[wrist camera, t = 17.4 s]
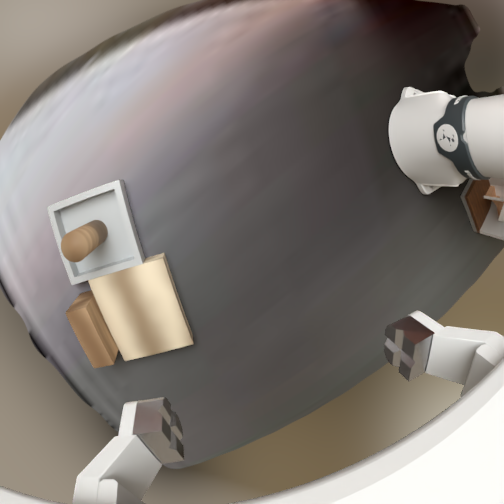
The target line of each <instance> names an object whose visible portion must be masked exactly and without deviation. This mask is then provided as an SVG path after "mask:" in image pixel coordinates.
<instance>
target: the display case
mask: <svg viewBox="0 0 504 504" xmlns="http://www.w3.org/2000/svg"><path fill="white" fill-rule="evenodd" d="M460 197H461V200H462V202H463V204H464V207H465V209H466V212H467V215H468V217H469V220H470V223H471V226H472V228H473V231H474V232H477V233H480V234H484V235H487V236H491V237H494V238H498V239H501V240H504V179H499V178H490V179H488V180H474V179H469V181H468V183H467V185H466V186H465V188H464V190H463V192H462V194H461V196H460Z"/></svg>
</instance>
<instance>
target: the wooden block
mask: <svg viewBox="0 0 504 504" xmlns="http://www.w3.org/2000/svg"><path fill="white" fill-rule="evenodd" d="M66 315H67V318H68V320H69V322H70V324H71V326H72V328H73V330H74V332H75V334H76V336H77V338H78V340H79V342H80V344H81V346H82V347H83V349H84V351H85V353H86V355H87V357H88V358H89V360H90V362H91V364H92V365H93V367H94V368H99V367H104V366H109V365H114V363H115V359H116V356H117V352H118V347H117V345H116V343H115V341H114V339H113V337H112V335H111V333H110V330H109V328H108V326H107V324H106V322H105V320H104V318H103V315H102V313H101V311H100V309H99V306H98V304H97V302H96V299H95V297H94V294H93V292H92V290H91V291H87V292H84V293H81V294H80V295H79V296H78V297H77V298H76V300H75V301H74V302H73V304H72V305H71V306H70V307H69V309H68V310H67V311H66Z"/></svg>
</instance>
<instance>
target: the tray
mask: <svg viewBox="0 0 504 504" xmlns="http://www.w3.org/2000/svg"><path fill="white" fill-rule="evenodd" d="M47 210H48V214H49V217H50V221H51V225H52V228H53V232H54V235H55V238H56V242H57V245H58V248H59V251H60V254H61V257H62V260H63V263H64V265H65V268H66V271H67V274H68V276H69V279H70V282H71V284H72V285H74V284H77V283H81V282H84V281H87V280H90V279H94V278H97V277H100V276H104V275H107V274H110V273H114V272H117V271H120V270H124V269H127V268H130V267H134V266H137V265H141V264H143V262H144V260H145V256H144V253H143V250H142V246H141V243H140V240H139V236H138V233H137V230H136V226H135V223H134V219H133V216H132V212H131V208H130V205H129V201H128V197H127V193H126V189H125V185H124V181H123V180H117V181H114V182H111V183H108V184H105V185H102V186H99V187H97V188H94V189H91V190H88V191H86V192H83V193H80V194H78V195H75V196H73V197H70V198H68V199H65V200H63V201H60V202H58V203H56V204H53V205H51V206H48V207H47ZM93 220H100V221H102V222H103V223H104V224H105V225H106V227H107V230H108V235H107V238H106V240H105V241H104V242H103V243H102V244H101V245H99V246H98V247H97V248H96V249H95V250H93V251H92V252H91V253H90V254H89V255H88V256H86V257H85V258H84V259H83V260H82V261H80V262H71V261H69V260H67V259H66V258H65V257H64V255H63V253H62V250H61V241H62V238H63V237H64V235H65V234H67V233H68V232H70V231H72V230H74V229H76V228H78V227H80V226H83V225H85V224H87V223H89V222H91V221H93Z"/></svg>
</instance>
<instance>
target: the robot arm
mask: <svg viewBox="0 0 504 504" xmlns="http://www.w3.org/2000/svg"><path fill="white" fill-rule="evenodd" d="M389 140H390V145H391V149H392V152H393V155H394V158H395V160H396V162H397V164H398V165H399V167H400V169H401V170H402V171H403V172H404V173H405V174H406V175H407V176H408V177H409V178H410V179H412V180H413V181H414V182H415V183H416V185H417V186H418V188H419V190H420V191H421V193H422V194H430V193H432V192H433V191H435V190H437V189H438V188H440V187H441V186H450V187H458V186H459V184H461V183H463V182H464V181H465V180H466V179H467V178H469V179H474V180H488V179H490V178H499V179H504V94H502V95H497V96H491V97H484V98H477V97H475V96H460V97H457V98H456V97H455V96H454V95H448V93H446V92H443V91H434V92H428V93H424V92H421V91H419V90H416V89H414V88H411V87H405V88H404V89H403V91H402V95H401V99H400V101H399V102H398V104H397V105H396V106H395V107H394V109H393V111H392V113H391V116H390V120H389ZM385 336H386V337H387V338H388V339H387V341H386V342H385V344H384V352H385V355H386V358H387V360H388V361H389V363H390V364H392V365H393V366H397V367H399V373H401V374H402V375H403V376H404V377H405V378H406V379H407V380H408V381H411V380H412V379H414V378H416V377H418V376H419V375H421V374H422V373H424V372H426V373H427V374H430V375H433V376H437V377H440V378H443V379H446V380H449V381H452V382H456V383H459V384H462V385H464V387H463V390H462V392H461V398H459V400H457V401H456V402H455V403H453V404H452V405H451V406H449V407H448V408H447V409H445V410H444V411H443V412H441V413H440V414H439V415H437V416H436V417H434V418H433V419H432V420H430V421H429V422H427V423H426V424H424V425H423V426H421V427H420V428H418V429H417V430H415V431H413V432H412V433H411V434H409V435H407V436H405V437H404V438H402V439H401V440H399V441H397V442H395V443H394V444H392V445H390V446H388V447H387V448H385V449H383V450H381V451H379V452H377V453H375V454H373V455H371V456H369V457H367V458H365V459H363V460H361V461H359V462H357V463H355V464H353V465H351V466H349V467H346V468H344V469H342V470H339V471H337V472H335V473H332V474H330V475H327V476H325V477H322V478H320V479H317V480H314V481H311V482H308V483H306V484H303V485H300V486H297V487H294V488H291V489H287V490H284V491H281V492H277V493H273V494H270V495H266V496H262V497H258V498H253V499H249V500H244V501H239V502H234V503H230V504H504V337H503V336H502V335H500V334H499V333H497V332H493V331H484V330H475V329H467V328H458V327H450V326H447V327H443V326H442V325H440V324H438V323H437V322H436V321H434V320H433V319H431V318H430V317H428V316H427V315H425V314H424V313H422V312H420V311H415V312H413V313H411V314H410V315H408V316H406V317H404V318H402V319H400V320H398V321H396V322H394V323H392V324H390V325H388V326H387V327H386V329H385ZM182 437H183V431H182V426H181V422H180V420H179V417H178V416H177V414H176V412H174V411H172V410H171V404H170V402H169V401H168V399H167V398H166V397H162V398H155V399H148V400H140V401H135V402H126V403H125V404H124V407H123V412H122V417H121V423H120V429H119V435H118V436H117V437H114V438H113V439H112V440H111V441H110V442H109V443H108V444H107V446H106V447H105V448H104V449H103V450H102V451H101V452H100V453H99V454H98V455H97V456H96V457H95V458H94V460H92V461H91V462H90V464H89V465H88V466H87V467H86V468H85V469H84V470H83V471H82V472H81V473H80V474H79V475H78V476H77V480H76V486H75V491H74V497H73V504H145V503H143V502H142V501H141V500H142V498H143V496H144V494H145V493H146V491H147V489H148V488H149V486H150V484H151V483H152V481H153V479H154V478H155V476H156V474H157V472H158V471H159V469H160V467H161V466H162V464H163V463H170V462H177V461H183V460H184V448H183V445H182V443H181V442H180V439H181V438H182ZM0 504H65V503H60V502H55V501H51V500H46V499H42V498H38V497H34V496H31V495H27V494H23V493H21V492H17V491H14V490H11V489H8V488H6V487H3V486H0Z"/></svg>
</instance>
